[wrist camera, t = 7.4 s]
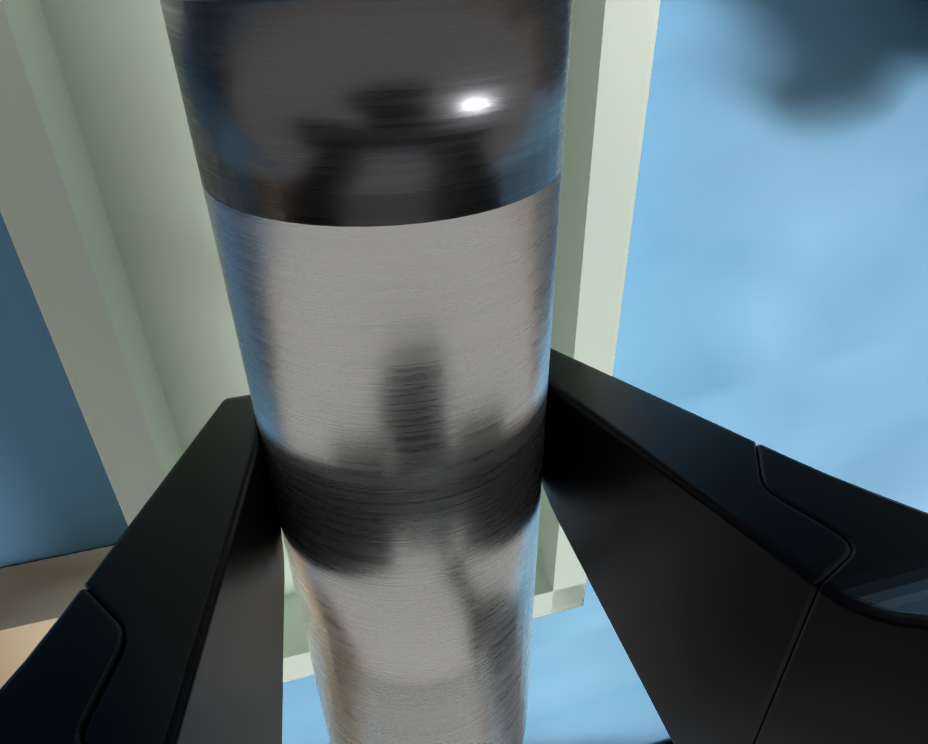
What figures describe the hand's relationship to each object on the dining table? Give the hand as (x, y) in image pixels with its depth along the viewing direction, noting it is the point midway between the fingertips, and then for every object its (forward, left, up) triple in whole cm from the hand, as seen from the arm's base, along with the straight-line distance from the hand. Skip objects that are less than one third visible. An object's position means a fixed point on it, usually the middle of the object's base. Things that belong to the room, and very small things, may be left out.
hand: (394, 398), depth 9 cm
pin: (0, +1, +1) cm, 1 cm away
